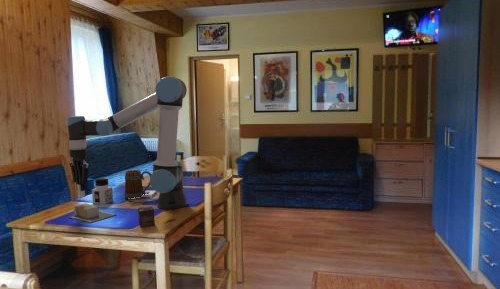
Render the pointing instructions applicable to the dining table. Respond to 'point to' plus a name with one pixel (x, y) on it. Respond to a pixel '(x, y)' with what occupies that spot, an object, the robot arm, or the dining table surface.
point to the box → (146, 216)
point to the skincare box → (86, 210)
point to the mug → (135, 184)
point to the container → (102, 192)
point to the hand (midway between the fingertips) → (81, 197)
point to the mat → (93, 219)
